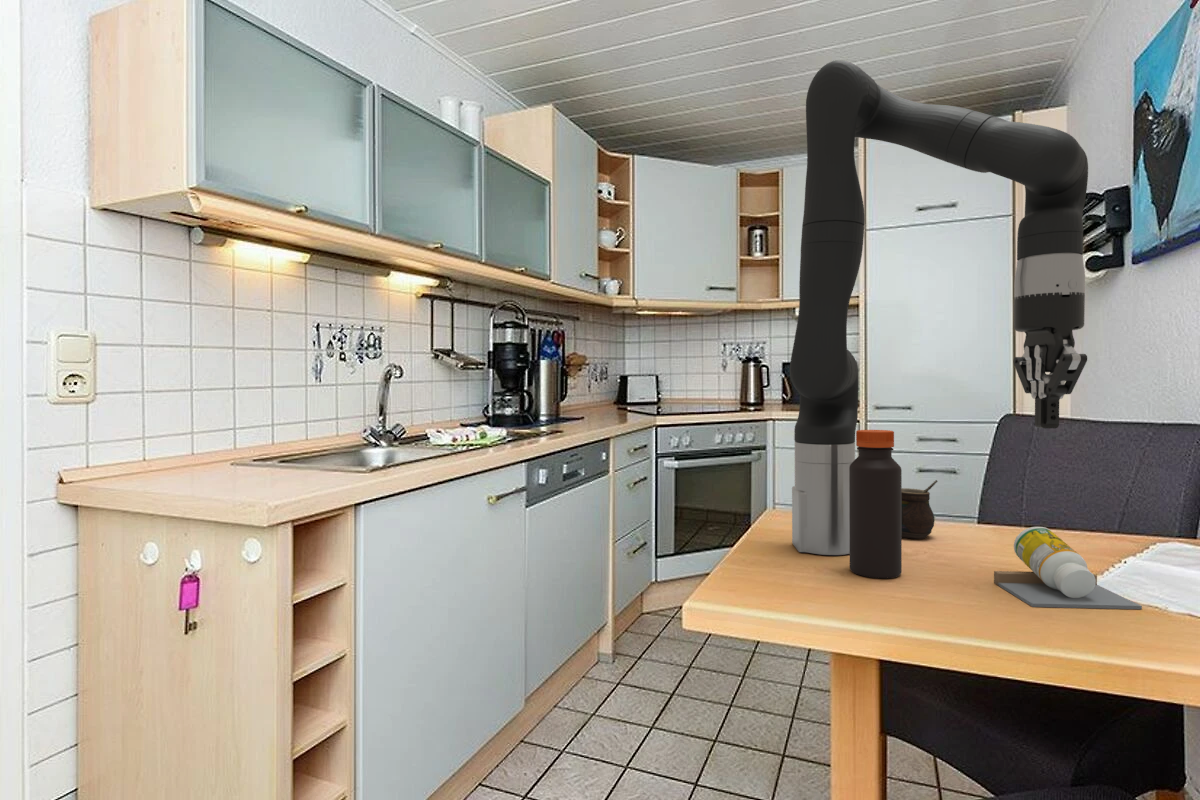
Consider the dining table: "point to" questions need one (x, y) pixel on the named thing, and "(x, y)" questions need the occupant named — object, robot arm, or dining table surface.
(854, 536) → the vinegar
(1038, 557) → the supplement bottle
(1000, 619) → the dining table surface
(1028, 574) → the plate
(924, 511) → the mate gourd
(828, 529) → the robot arm
